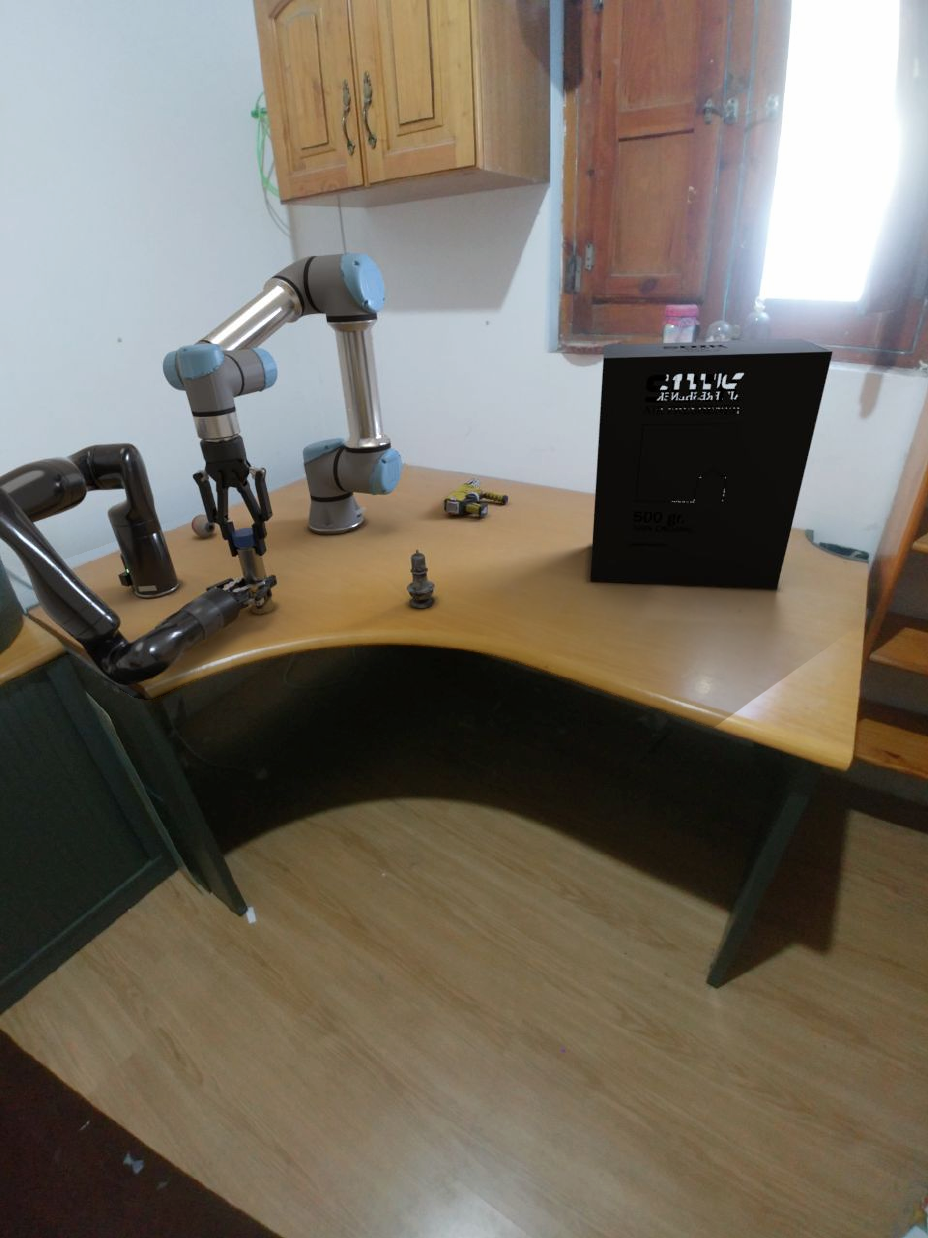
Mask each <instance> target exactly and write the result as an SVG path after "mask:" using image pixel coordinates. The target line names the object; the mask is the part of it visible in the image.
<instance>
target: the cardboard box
mask: <svg viewBox="0 0 928 1238" xmlns="http://www.w3.org/2000/svg"><path fill="white" fill-rule="evenodd" d="M833 353H834V352H833V350H830V349H827V348H826V347H825V348H824V347H822V346H821V345H818V344H815V343H813V342H810V341H808V340H805V339H802V338H783V339H782V338H781V339H779V338H777V339H776V338H775V339H749V340H747V339H746V340H723V341H722V340H720V341H719V340H718V341H689V342H687V341H685V342H683V341H682V342H657V343H654V342H653V343H627V344H625V343H624V344H623V343H621V344H604V345H603V359H602V362H603V363H602V375H601V389H600V390H601V392H600V409H599V424H598V425H599V426H598V427H599V428H598V442H597V457H596V458H597V459H596V460H597V461H596V475H595V493H594V496H595V497H594V508H593V509H594V510H593V525H592V527H593V528H592V541H591V557H590V558H591V560H590V575H589V576H590V577H589V580H590V582H603V583H622V584H623V583H625V584H626V583H628V584H645V585H647V584H648V585H669V586H670V585H671V586H693V587H712V588H714V587H715V588H734V589H735V588H737V589H755V590H757V589H758V590H759V589H760V590H778V586H779V582H780V577H781V574H782V570H783V565H784V561H785V556H786V553H787V548H788V543H789V539H790V536H791V531H792V526H793V522H794V519H795V513H796V510H797V505H798V501H799V497H800V493H801V489H802V484H803V480H804V476H805V471H806V467H807V464H808V463H807V462H808V458H809V455H810V450H811V446H812V442H813V437H814V434H815V430H816V425H817V421H818V417H819V411H820V407H821V404H822V400H823V399H822V398H823V394H824V390H825V386H826V381H827V378H828V374H829V369H830V366H831V360H832V356H833ZM738 374H742V376H741V377H740V378H735V376H736V375H738ZM678 375H681V379H680V380H679V384H678V388H675V385H676V379H675V377H676V376H678ZM689 375H693V380H692V381H691V379H688V376H689ZM702 375H704V379H702ZM719 378H720V382H719ZM724 378H725V382H724ZM723 382H724V385H730V384H731V385H734V388H725V387H724V386H723ZM691 383H692V385H695V388H691ZM705 385H710V388H704V386H705ZM662 387H666V389H662Z"/></svg>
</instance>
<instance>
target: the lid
mask: <svg viewBox="0 0 928 1238" xmlns="http://www.w3.org/2000/svg"><path fill="white" fill-rule="evenodd" d="M232 540H233V544H234V546H235V547H238V548H245V547H251V546H254V545H256V543H255V538H254V534H253V530H252V527H242V528H238V529H235V531H234V532H232Z"/></svg>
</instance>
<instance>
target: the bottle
mask: <svg viewBox="0 0 928 1238" xmlns="http://www.w3.org/2000/svg"><path fill="white" fill-rule="evenodd" d="M236 549H237V553H238V555H237V557H238V560H239V564H240V569H241V572H242V576H243V577H244V580H245V584H246V586H247V585H249V584H252V585H255V584H257V583H260V582H261V581H263V580H264V579H266V578H267V577H268V576H267V572H266V569H265V564H264V560H263V556H259V555H258V551H257V547H256V545H254V546H251V547H245V548H238V547H236ZM249 591H250V590H249ZM259 591H260V588H258V589H257V593H258V592H259ZM250 594H251V591H250ZM251 597H252V595H251ZM250 607H251V610H252V612H253V613H254V614H256V615H264V614H267V613H270V612H271V611H273V610H274V608H275V606H274V601H273V596H272V597H271V598H270V599H269V601H268V602H267V603H266V604H265V605H264V607H263V608H261V609H257V607H256V605H250Z"/></svg>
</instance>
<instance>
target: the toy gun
mask: <svg viewBox="0 0 928 1238" xmlns="http://www.w3.org/2000/svg"><path fill="white" fill-rule="evenodd" d="M481 481H482V480H481V479H478V478H477V479H475V478H471V479H469V480H468V481H467V482H465V483H464V484H462V485H461V486H460V487H458V488H457V489H456V490H455V491H453V492H452V493H451V494H450V495H448V496H447V497H446V498H445V499H444V500H443V511H444V512H445V513H447V514H448V515H452V516H455V515H459V516H460V515H464V514H473V515H478V518H479V519H482V518H483V517H485V516H487V515H488V510H489V509H488V508H489V504H488V503H487V502H483V503H482V502H481V501H482V500H483V499H484V500H489V501H493V502H497V503H500V504H504V505H505V504H507V503H508V502H509V496H508V495H507V494H501V493H497V492H495V493H494V492H493V491H492V492H490V491H485V492H484V493H483V490H482V489H481V487H479V486H480V485H481V484H482V483H481Z"/></svg>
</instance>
